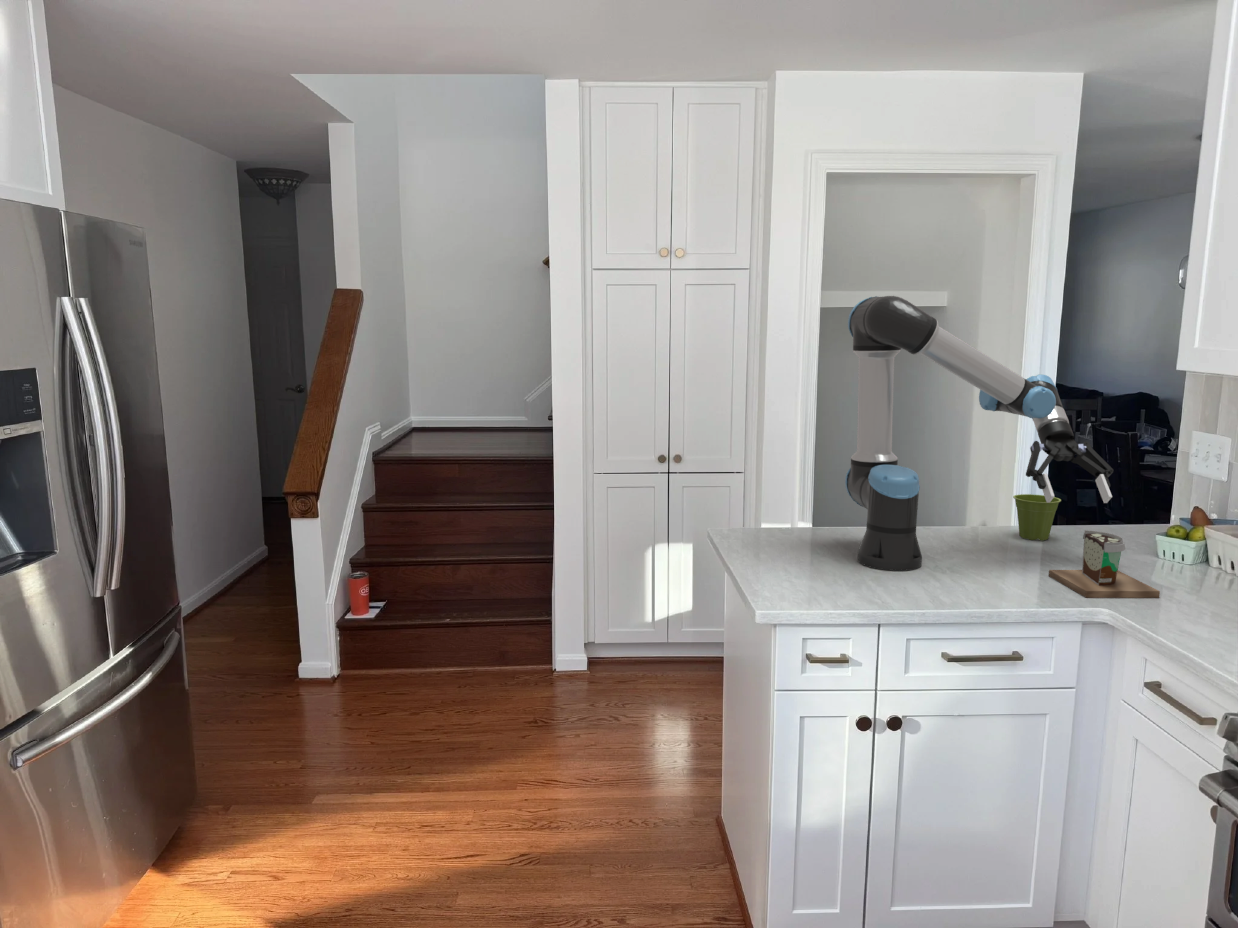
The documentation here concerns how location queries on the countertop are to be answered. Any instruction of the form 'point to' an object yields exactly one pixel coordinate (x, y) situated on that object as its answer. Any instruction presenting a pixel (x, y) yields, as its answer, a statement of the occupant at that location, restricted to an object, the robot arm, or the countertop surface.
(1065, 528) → the countertop surface
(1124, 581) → the walnut board
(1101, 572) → the food container
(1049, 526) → the plant pot
